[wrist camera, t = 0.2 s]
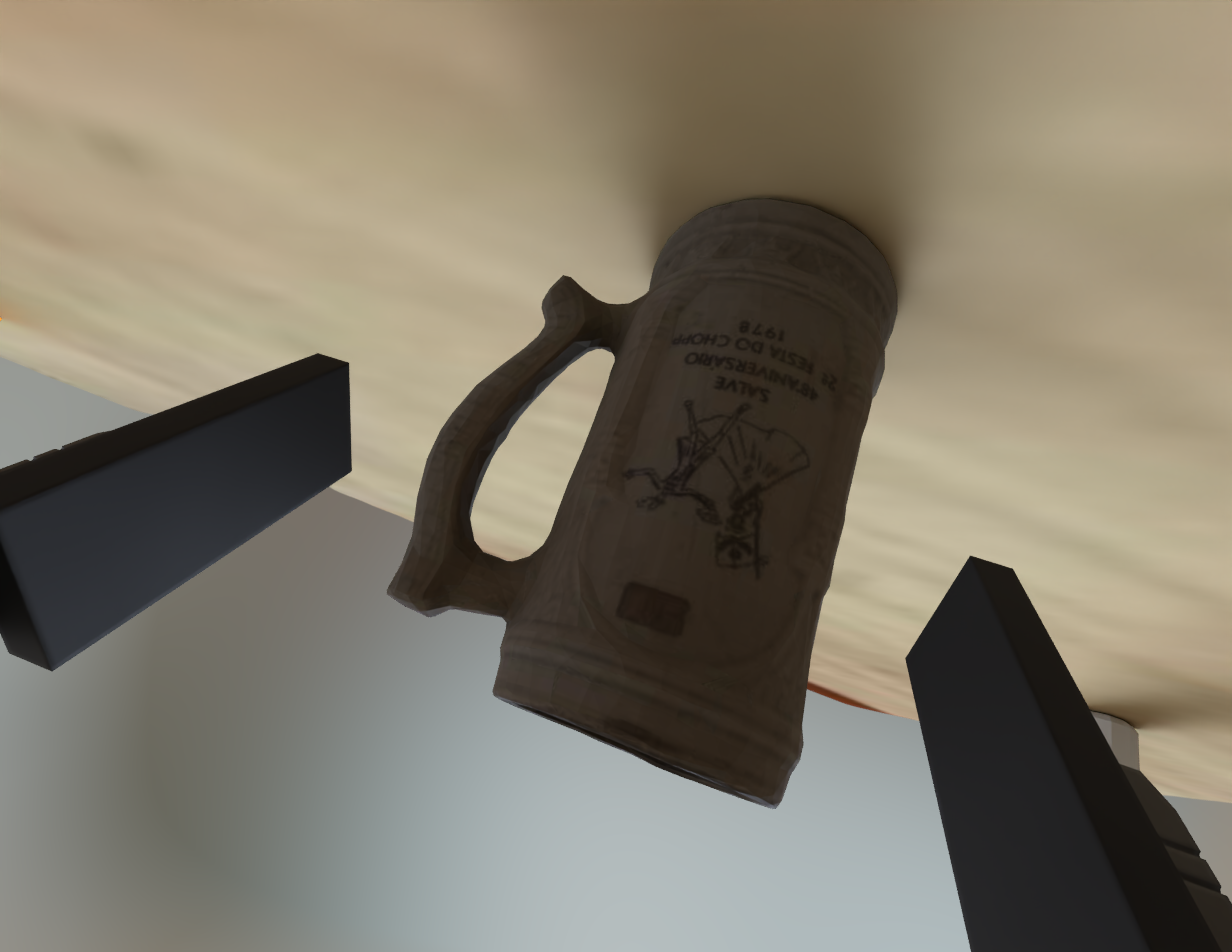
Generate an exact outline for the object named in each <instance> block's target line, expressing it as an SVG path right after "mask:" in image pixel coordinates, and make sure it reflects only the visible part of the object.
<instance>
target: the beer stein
mask: <svg viewBox="0 0 1232 952" xmlns="http://www.w3.org/2000/svg"><path fill="white" fill-rule="evenodd" d="M542 311H543V314H544V318H545V327H544V328H543V330H542V331H541V333H540V334H539V336H538V337H537V338H536V339H534V340H533V341H532V342H531V343H530V344H529V345H528V346H527V347H525V348H524V349H523V350H522V351H520V352H519V353H517V354H516V355H515V356H513V357H512V358H511V359H509V360H508V361H507V362H505V363H504V364H503V365H501V366H500V367H499V368H498V369H496V370H495V371H494V372H493V373H491V374H490V375H489V376H487V377H486V378H485V379H484V380H482V381H481V382H480V383H479V384H477V385H476V386H475V388H474V389H473V390H472V391H471V392H470V393H469V395H468V396H467V397H466V398H465V399H464V400H463V402H462V403H461V404H460V405H459V406H458V407H457V408H456V410H455V411H454V412H453V413H452V415H451V416H450V417H449V419H448V420H447V422H446V423H445V425H444V426H443V427H442V429H441V430H440V432H439V435H438V437H437V439H436V441H435V443H434V445H433V447H432V449H431V452H430V454H429V456H428V458H427V461H426V465H425V469H424V473H423V477H422V481H421V485H420V488H419V492H418V496H417V503H416V511H415V518H414V526H413V534H412V537H411V540H410V543H409V545H408V548H407V551H406V553H405V556H404V558H403V561H402V564H401V566H400V568H399V569H398V571H397V573H396V574H395V576H394V578H393V580H392V582H391V583H390V585H389V587H388V589H387V594H388V595H389V596H390V597H392V598H393V599H395V600H396V601H398V602H399V603H401V604H402V605H404V606H405V607H408V608H410V609H412V610H414V611H416V612H418V613H420V614H423V615H425V616H427V617H432V616H436V615H438V614H441V613H443V612H445V611H447V610H450V609H457V610H462V611H467V612H473V613H478V614H485V615H491V616H497V617H502V618H503V619H504V620H505V621H506V622H507V624H506V631H505V634H504V637H503V641H502V644H501V647H500V649H501V650H500V652H501V661H500V665H499V668H498V673H497V676H496V680H495V684H494V688H493V694H494V696H495V697H497V698H498V699H501V700H502V701H504V702H507V703H509V704H511V705H513V706H515V707H518V708H521V709H523V710H525V711H528V712H530V713H533V714H535V715H538V716H541V717H543V718H546V719H548V720H551V721H553V722H556V723H558V724H561V725H563V726H566V727H568V728H571V729H574V730H576V731H578V732H581V733H583V734H585V735H587V736H589V737H591V738H593V739H596V740H598V741H600V742H603V743H605V744H608V745H610V746H612V747H615V748H617V749H620V750H623V751H625V752H627V753H630V754H632V755H634V756H636V757H638V758H640V759H642V760H644V761H646V762H648V763H650V764H652V765H654V766H656V767H658V768H661V769H663V770H666V771H668V772H671V773H673V774H676V775H679V776H681V777H684V778H686V779H689V780H693V781H695V782H698V783H701V784H703V785H706V786H709V787H711V788H714V789H717V790H719V791H722V792H725V793H727V794H730V795H733V796H736V797H739V798H742V799H744V800H747V801H750V802H753V803H756V804H759V805H762V806H765V807H768V808H772V809H776V808H777V806H778V805H779V803H780V802H781V801H782V798H783V796H784V793H785V790H786V787H787V784H788V781H789V778H790V775H791V774H792V772H793V771H794V769H795V767H796V766H797V764H798V762H799V760H800V757H801V753H802V748H803V734H802V721H803V713H804V705H805V698H806V690H807V682H808V675H809V667H810V659H811V653H812V648H813V644H814V639H815V634H816V629H817V625H818V620H819V615H820V611H821V606H822V601H823V598H824V596H825V594H826V592H827V590H828V588H829V586H830V581H831V576H832V570H833V565H834V559H835V556H836V552H837V548H838V544H839V541H840V537H841V533H842V529H843V525H844V521H845V512H846V504H847V500H848V496H849V491H850V487H851V483H852V478H853V474H854V470H855V466H856V461H857V456H858V452H859V447H860V442H861V438H862V435H863V432H864V429H865V426H866V423H867V420H868V416H869V411H870V407H871V403H872V399H873V397H874V396H875V395H876V393H877V390H878V387H879V385H880V382H881V379H882V376H883V372H884V369H885V351H884V349H885V347H886V345H887V343H888V340H889V338H890V335H891V333H892V331H893V327H894V323H895V319H896V315H897V291H896V286H895V284H894V281H893V278H892V275H891V272H890V270H889V267H888V264H887V262H886V261H885V259H884V257H883V255H882V254H881V253H880V252H879V251H878V250H877V249H876V248H875V246H874V245H873V244H872V243H871V242H870V241H869V240H868V239H867V237H866V236H865V235H863V234H862V233H861V232H859V231H858V230H856V229H855V228H853V227H852V226H851V225H849V224H848V223H846V222H845V221H843V220H841V219H838V218H836V217H834V216H832V215H829V214H827V213H825V212H823V211H820V210H818V209H816V208H813V207H811V206H807V205H802V204H796V203H790V202H784V201H779V200H773V199H754V200H742V201H738V202H734V203H729V204H725V205H721V206H716V207H712V208H709V209H707V210H705V211H704V212H702V213H700V214H698V215H696V216H695V217H694V218H692V219H691V220H689V221H688V222H687V223H685V224H684V225H683V226H681V227H680V228H679V229H678V230H677V231H676V232H675V233H674V234H673V235H672V236H671V237H670V238H669V239H668V241H667V243H666V244H665V246H664V248H663V249H662V250H661V253H660V255H659V257H658V259H657V262H656V264H655V266H654V269H653V273H652V278H651V282H650V288H649V291H648V292H647V293H646V294H645V295H644V296H642V297H640V298H639V299H637V300H635V301H633V302H631V303H629V304H607V303H605V302H602V301H599V300H597V299H596V298H595V297H593V296H592V295H591V294H589V293H588V292H587V291H585V290H584V289H583V288H582V287H581V286H580V285H579V284H577V283H576V282H575V281H574V280H573V279H572V278H571V277H568V276H564V275H563V276H562V277H561V278H560V279H559V280H558V281H557V282H556V283H555V284H554V285H553V286H552V287H551V288H550V289H549V291H548V293H547V294H546V296H545V298H544V299H543V302H542ZM601 348H602V349H605V350H607V351H609V352H612V353H613V355H614V356H615V363H614V365H613V367H612V370H611V372H610V376H609V380H608V383H607V386H606V390H605V393H604V396H603V398H602V401H601V403H600V406H599V408H598V411H597V414H596V416H595V419H594V422H593V425H592V427H591V430H590V432H589V435H588V437H587V440H586V442H585V445H584V448H583V450H582V453H581V455H580V457H579V460H578V462H577V464H576V466H575V469H574V471H573V473H572V476H571V478H570V480H569V483H568V485H567V488H566V491H565V493H564V496H563V499H562V501H561V504H560V507H559V509H558V512H557V515H556V518H555V521H554V524H553V527H552V530H551V532H550V534H549V536H548V538H547V539H546V541H545V543H544V544H543V546H541V547H540V548H539V549H538V550H537V551H535V552H534V553H533V554H532V555H530V556H529V557H526V558H522V559H519V560H516V561H505V560H503V559H500V558H498V557H495V556H493V555H490V554H487V553H484V552H483V551H482V550H481V549H480V547H479V546H478V545H477V543H476V542H475V541H474V537H473V532H472V527H471V521H470V517H471V512H472V507H473V502H474V500H475V497H476V495H477V492H478V490H479V487H480V485H481V482H482V480H483V477H484V475H485V472H486V470H487V468H488V466H489V464H490V462H491V459H492V457H493V456H494V454H495V452H496V451H497V449H498V447H499V446H500V445H501V444H502V443H503V442H504V440H505V439H506V437H507V435H508V433H509V431H510V430H511V428H512V427H513V425H514V424H515V422H516V421H517V420H518V418H519V417H520V416H521V415H522V414H523V412H524V411H525V410H526V409H527V408H528V407H529V405H530V404H531V403H532V402H533V401H534V400H535V399H536V398H537V397H538V396H539V395H540V394H541V393H542V392H543V391H544V389H545V388H546V387H547V386H548V385H549V384H550V383H551V382H552V381H553V380H554V379H555V378H556V377H557V376H558V375H560V374H561V373H562V372H563V371H564V370H565V369H566V368H567V367H568V366H569V365H570V364H572V363H573V362H575V361H576V360H577V359H579V358H580V357H581V356H583V355H584V354H586V353H587V352H589V351H592V350H595V349H601Z"/></svg>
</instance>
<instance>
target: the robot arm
mask: <svg viewBox="0 0 1232 952" xmlns="http://www.w3.org/2000/svg"><path fill="white" fill-rule="evenodd" d="M351 471H352V463H351V424H350V384H349V363H348V362H344V361H341V360H338V359H335V358H332V357H328V356H325V355H322V354H319V353H317V354H315V355H312V356H309V357H307V358H304V359H301V360H299V361H296V362H293V363H291V364H288V365H285V366H283V367H280V368H277V369H275V370H272V371H269V372H267V373H264V374H261V375H259V376H256V377H253V378H251V379H248V380H245V381H243V382H240V383H237V384H235V385H232V386H229V387H227V388H224V389H221V390H219V391H216V392H213V393H211V394H208V395H205V396H203V397H200V398H197V399H195V400H192V401H189V402H187V403H184V404H181V405H179V406H176V407H173V408H171V409H168V410H165V411H163V412H160V413H157V414H155V415H152V416H149V417H147V418H144V419H141V420H139V421H136V422H133V423H131V424H128V425H125V426H123V427H120V428H117V429H115V430H112V431H107V432H102V433H97V434H94V435H91V436H89V437H86V438H83V439H81V440H78V441H75V442H72V443H70V444H67V445H64V446H62V449H61V450H57V449H53V450H51V451H48V452H45V453H43V454H40V455H37V456H34V459H33V460H32V461H29V460H24V461H21V462H18V463H16V464H13V465H10V466H7V467H5V468H2V469H0V634H1V636H2V638H3V640H4V643H5V645H6V647H7V650H8V652H9V653H10V654H12V655H15V656H17V657H19V658H22V659H24V660H27V661H29V662H31V663H34V664H36V665H38V666H41V667H43V668H45V669H48V670H50V671H53V670H55V669H56V668H58V667H59V666H61V665H62V664H64V663H65V662H67V661H68V660H70V659H71V658H73V657H74V656H76V655H77V654H79V653H80V652H82V651H83V650H85V649H86V648H88V647H89V646H91V645H92V644H94V643H95V642H97V641H98V640H100V639H101V638H103V637H104V636H106V635H107V634H109V633H110V632H112V631H113V630H115V629H116V628H118V627H119V626H121V625H122V624H124V623H125V622H127V621H128V620H130V619H131V618H133V617H134V616H136V615H137V614H139V613H140V612H142V611H143V610H145V609H146V608H148V607H149V606H151V605H152V604H154V603H155V602H157V601H158V600H160V599H161V598H163V597H164V596H166V595H167V594H169V593H170V592H172V591H173V590H175V589H176V588H178V587H179V586H181V585H182V584H184V583H185V582H187V581H188V580H190V579H191V578H193V577H194V576H196V575H197V574H199V573H200V572H202V571H203V570H205V569H206V568H208V567H209V566H211V565H212V564H214V563H215V562H217V561H218V560H219V559H221V558H222V557H224V556H225V555H227V554H228V553H230V552H231V551H233V550H235V549H236V548H238V547H239V546H240V545H242V544H243V543H245V542H246V541H248V540H249V539H251V538H252V537H254V536H255V535H257V534H258V533H260V532H262V531H263V530H264V529H266V528H267V527H269V526H271V525H272V524H273V523H275V522H276V521H278V520H279V519H281V518H282V517H284V516H285V515H287V514H288V513H290V512H291V511H293V510H294V509H296V508H297V507H299V506H300V505H302V504H303V503H305V502H306V501H308V500H309V499H311V498H312V497H314V496H315V495H317V494H318V493H320V492H321V491H323V490H324V489H326V488H327V487H329V486H330V485H332V484H333V483H335V482H336V481H338V480H339V479H341V478H342V477H344V476H345V475H347V474H348V473H350V472H351ZM905 659H906V663H907V668H908V672H909V677H910V681H911V686H912V690H913V694H914V699H915V703H916V708H917V712H918V717H919V721H920V726H921V730H922V734H923V739H924V744H925V748H926V752H927V756H928V761H929V766H930V770H931V775H932V779H933V784H934V788H935V793H936V797H937V801H938V806H939V810H940V815H941V819H942V824H943V828H944V832H945V837H946V842H947V846H948V850H949V855H950V859H951V864H952V868H953V872H954V877H955V882H956V886H957V890H958V895H959V900H960V904H961V909H962V913H963V917H964V922H965V926H966V931H967V934H968V939H969V944H970V949H971V952H1232V904H1231V902H1230V901H1229V898H1228V897H1227V896H1226V895H1223V894H1221V892H1220V888H1221V885H1220V883H1219V882H1218V880H1217V878H1216V877H1215V875H1214V873H1213V872H1212V870H1211V868H1210V867H1209V865H1208V863H1207V862H1206V860H1204V859H1201V858H1200V856H1199V854H1200V852H1201V851H1200V850H1199V848H1198V846H1197V845H1196V843H1195V841H1194V840H1193V838H1192V836H1191V835H1190V833H1189V832H1188V830H1187V828H1186V826H1185V825H1184V823H1183V822H1182V820H1181V818H1180V816H1179V815H1178V813H1177V811H1176V810H1175V809H1174V808H1173V807H1172V806H1171V804H1170V803H1169V802H1168V801H1167V800H1166V799H1165V798H1164V797H1163V796H1162V794H1161V793H1160V792H1159V791H1158V790H1157V789H1156V788H1155V787H1154V786H1153V785H1152V784H1151V782H1150V781H1149V780H1148V779H1147V778H1146V777H1145V776H1144V775H1143V774H1142V773H1141V771H1139V770H1136V769H1133V768H1130V767H1128V766H1125V765H1122V764H1119V762H1118V760H1117V758H1116V757H1115V755H1114V753H1113V751H1112V749H1111V747H1110V746H1109V744H1108V742H1107V740H1106V738H1105V736H1104V735H1103V733H1102V731H1101V729H1100V727H1099V725H1098V724H1097V722H1096V720H1095V718H1094V716H1093V714H1092V713H1091V711H1090V709H1089V707H1088V705H1087V703H1086V702H1085V700H1084V698H1083V696H1082V694H1081V693H1080V691H1079V689H1078V687H1077V685H1076V683H1075V682H1074V680H1073V678H1072V676H1071V674H1070V672H1069V671H1068V669H1067V667H1066V665H1065V663H1064V661H1063V660H1062V658H1061V656H1060V654H1059V652H1058V650H1057V649H1056V647H1055V645H1054V643H1053V641H1052V640H1051V638H1050V636H1049V634H1048V632H1047V630H1046V629H1045V627H1044V625H1043V623H1042V621H1041V619H1040V618H1039V616H1038V614H1037V612H1036V610H1035V608H1034V607H1033V605H1032V603H1031V601H1030V599H1029V597H1028V596H1027V594H1026V592H1025V590H1024V588H1023V587H1022V585H1021V583H1020V581H1019V579H1018V577H1017V576H1016V574H1015V572H1014V570H1013V569H1012V568H1008V567H1005V566H1002V565H999V564H996V563H992V562H989V561H986V560H983V559H979V558H976V557H973V556H970V557H969V559H968V560H967V562H966V563H965V565H964V566H963V568H962V570H961V571H960V573H959V574H958V576H957V578H956V579H955V581H954V582H953V584H952V585H951V587H950V589H949V590H948V592H947V593H946V595H945V597H944V598H943V600H942V601H941V603H940V604H939V606H938V608H937V609H936V611H935V612H934V614H933V616H932V617H931V619H930V620H929V622H928V623H927V625H926V627H925V628H924V630H923V631H922V633H921V635H920V636H919V638H918V639H917V641H916V642H915V644H914V646H913V647H912V649H911V650H910V652H909V654H908V655H907V657H906V658H905Z"/></svg>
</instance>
